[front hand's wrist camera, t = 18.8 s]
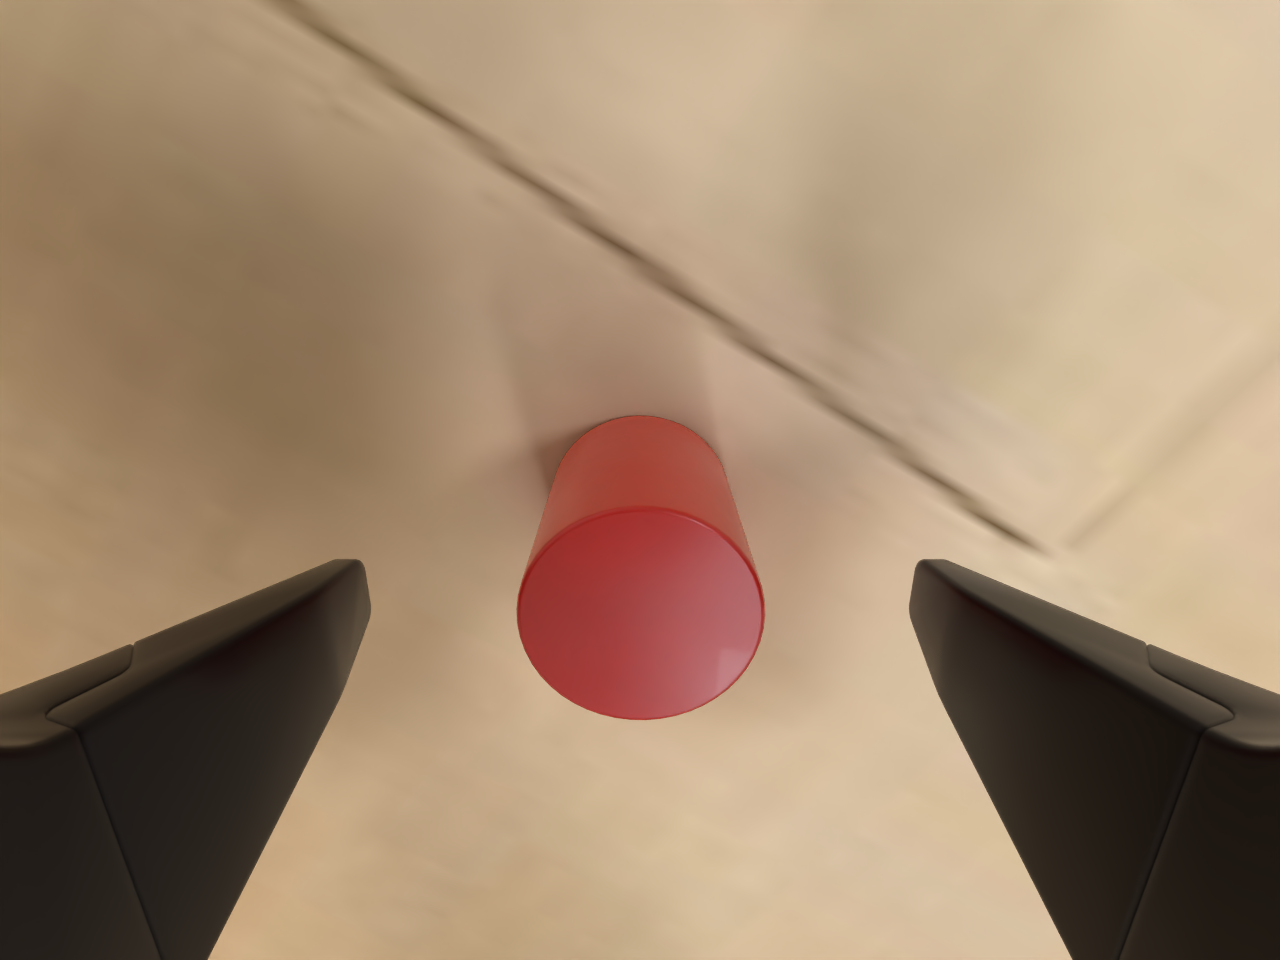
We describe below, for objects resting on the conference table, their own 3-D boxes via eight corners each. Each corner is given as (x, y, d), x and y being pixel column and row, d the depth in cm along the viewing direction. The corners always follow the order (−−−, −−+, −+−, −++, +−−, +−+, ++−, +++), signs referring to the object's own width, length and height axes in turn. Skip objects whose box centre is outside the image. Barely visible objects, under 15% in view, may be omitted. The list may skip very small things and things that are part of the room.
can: (548, 569, 15) (512, 713, 11) (557, 407, 14) (519, 496, 10) (716, 583, 15) (746, 730, 11) (740, 422, 14) (785, 518, 10)
